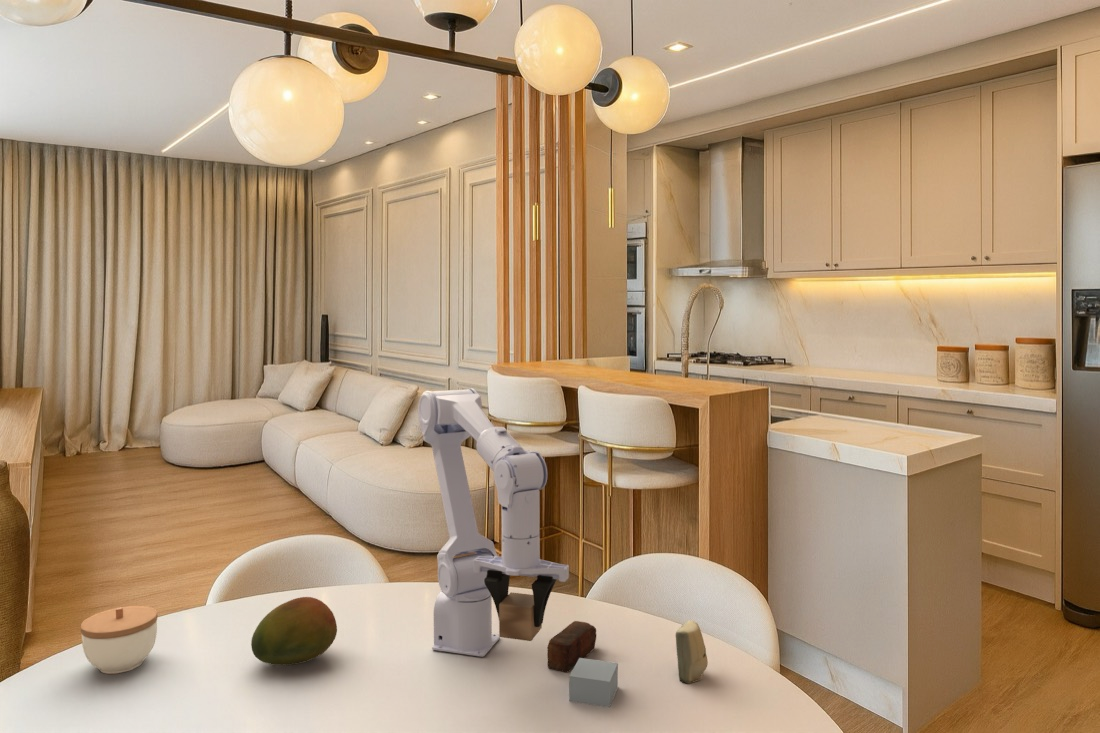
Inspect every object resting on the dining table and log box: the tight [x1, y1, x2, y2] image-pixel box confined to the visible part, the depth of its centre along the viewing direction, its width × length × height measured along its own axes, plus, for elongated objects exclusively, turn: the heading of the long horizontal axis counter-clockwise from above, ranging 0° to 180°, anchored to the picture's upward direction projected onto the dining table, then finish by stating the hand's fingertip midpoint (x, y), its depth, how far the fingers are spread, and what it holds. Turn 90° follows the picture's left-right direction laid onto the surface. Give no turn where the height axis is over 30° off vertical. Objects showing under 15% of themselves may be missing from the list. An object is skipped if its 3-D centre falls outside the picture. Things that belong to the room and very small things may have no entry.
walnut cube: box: [498, 592, 543, 642], centre depth 113 cm, size 5×5×5 cm
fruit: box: [250, 596, 338, 666], centre depth 122 cm, size 12×13×10 cm
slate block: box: [568, 658, 619, 708], centre depth 112 cm, size 6×6×4 cm
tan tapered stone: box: [675, 619, 709, 684], centre depth 117 cm, size 6×5×8 cm
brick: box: [546, 620, 597, 673], centre depth 123 cm, size 11×4×5 cm, turn 152°
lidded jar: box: [79, 605, 158, 675], centre depth 121 cm, size 11×11×9 cm
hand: (521, 622), depth 113 cm, fingers closed on walnut cube, 5 cm apart
